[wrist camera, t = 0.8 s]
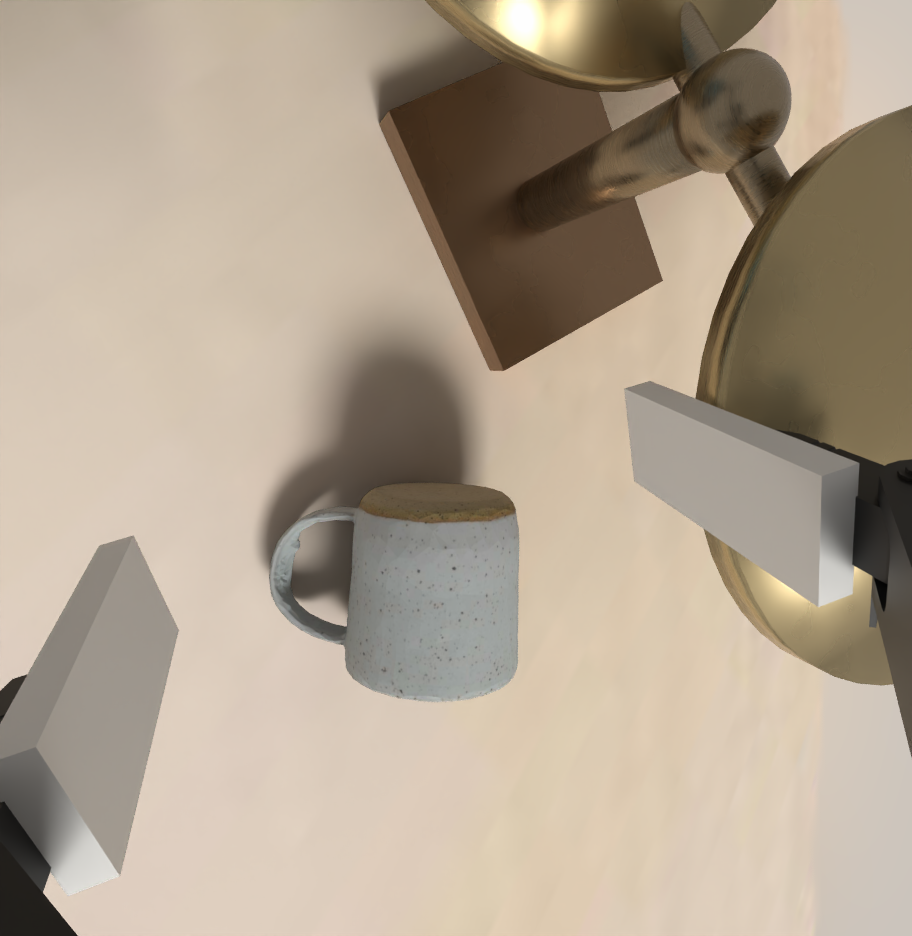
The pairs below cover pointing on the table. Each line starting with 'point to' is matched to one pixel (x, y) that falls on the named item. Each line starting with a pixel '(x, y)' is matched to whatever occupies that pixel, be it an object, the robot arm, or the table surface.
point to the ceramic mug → (421, 590)
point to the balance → (630, 253)
